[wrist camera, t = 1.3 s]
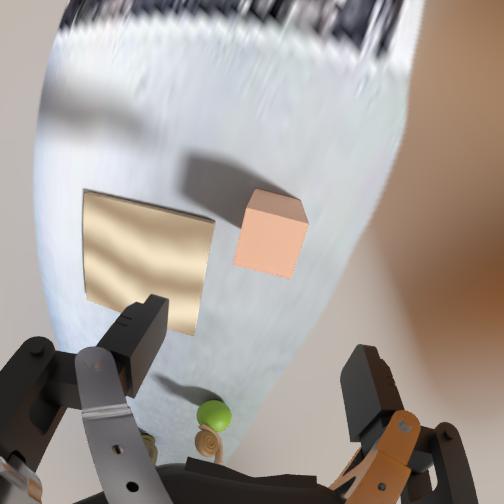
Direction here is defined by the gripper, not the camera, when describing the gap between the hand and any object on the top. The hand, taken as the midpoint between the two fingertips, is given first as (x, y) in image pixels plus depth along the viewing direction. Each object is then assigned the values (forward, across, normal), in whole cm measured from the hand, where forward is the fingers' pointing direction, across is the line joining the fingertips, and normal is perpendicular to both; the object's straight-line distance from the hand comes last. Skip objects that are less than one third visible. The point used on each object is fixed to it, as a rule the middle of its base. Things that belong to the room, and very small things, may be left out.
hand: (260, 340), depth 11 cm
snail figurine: (+19, 0, +32) cm, 37 cm away
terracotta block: (+19, 0, 0) cm, 19 cm away
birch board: (+19, +14, +9) cm, 25 cm away
